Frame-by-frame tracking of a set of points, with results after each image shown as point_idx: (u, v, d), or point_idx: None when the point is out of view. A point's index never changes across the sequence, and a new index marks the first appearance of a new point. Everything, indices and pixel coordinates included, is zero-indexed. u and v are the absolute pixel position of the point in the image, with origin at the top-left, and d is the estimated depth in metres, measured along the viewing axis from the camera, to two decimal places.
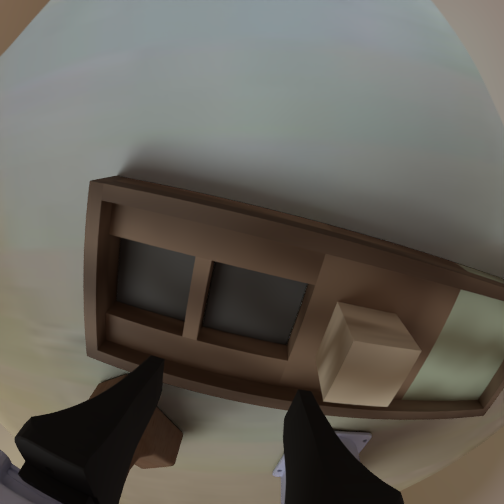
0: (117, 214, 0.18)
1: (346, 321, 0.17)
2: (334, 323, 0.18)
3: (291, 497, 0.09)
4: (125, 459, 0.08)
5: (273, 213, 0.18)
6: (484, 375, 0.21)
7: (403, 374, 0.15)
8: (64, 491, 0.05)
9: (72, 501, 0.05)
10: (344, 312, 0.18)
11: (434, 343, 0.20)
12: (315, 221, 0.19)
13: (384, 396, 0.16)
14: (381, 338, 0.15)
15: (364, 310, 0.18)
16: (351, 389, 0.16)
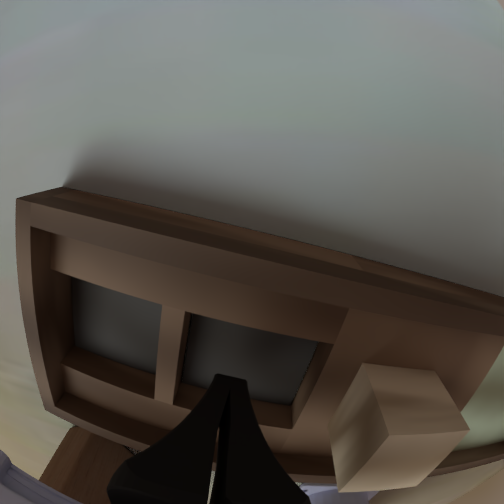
0: (57, 242, 0.12)
1: (376, 399, 0.10)
2: (357, 392, 0.12)
3: (214, 487, 0.08)
4: None
5: (275, 242, 0.12)
6: None
7: (443, 455, 0.09)
8: None
9: None
10: (373, 382, 0.12)
11: (471, 395, 0.14)
12: (336, 251, 0.13)
13: (414, 478, 0.10)
14: (422, 421, 0.09)
15: (398, 372, 0.12)
16: (375, 479, 0.10)
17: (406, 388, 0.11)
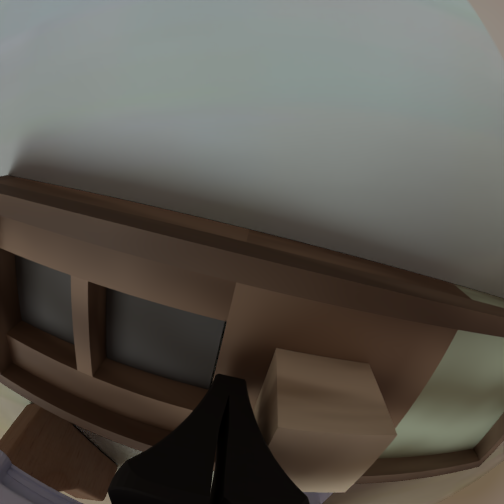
0: None
1: (277, 387, 0.10)
2: (269, 380, 0.12)
3: (213, 487, 0.08)
4: None
5: (162, 215, 0.12)
6: (484, 423, 0.15)
7: (367, 461, 0.09)
8: None
9: None
10: (281, 368, 0.11)
11: (417, 395, 0.14)
12: (231, 225, 0.13)
13: (338, 483, 0.10)
14: (330, 418, 0.09)
15: (317, 362, 0.12)
16: None
17: (322, 379, 0.11)
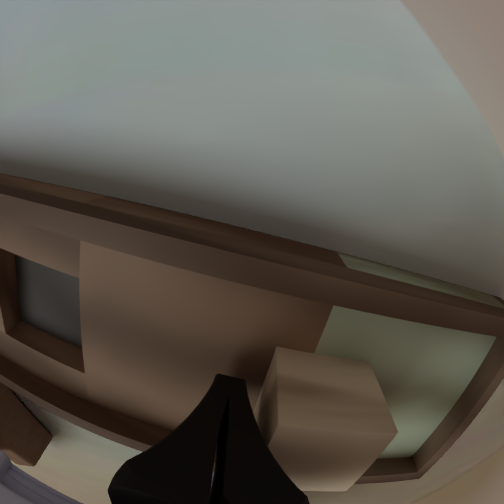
0: None
1: (277, 385, 0.10)
2: (269, 378, 0.12)
3: (212, 487, 0.08)
4: None
5: (38, 187, 0.12)
6: (417, 429, 0.14)
7: (368, 460, 0.09)
8: None
9: None
10: (281, 366, 0.11)
11: None
12: (90, 193, 0.13)
13: (340, 482, 0.10)
14: (331, 416, 0.09)
15: (317, 360, 0.12)
16: None
17: (322, 377, 0.11)
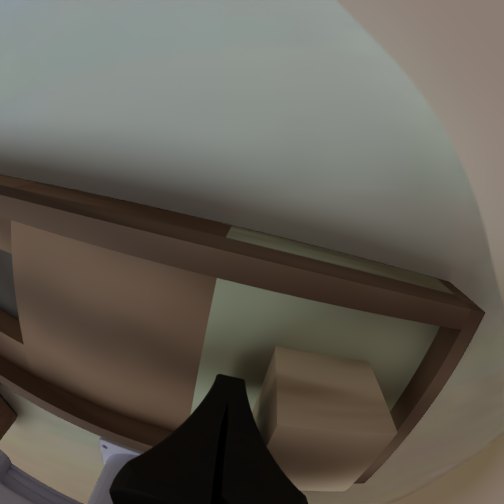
0: None
1: (277, 385, 0.10)
2: (268, 378, 0.12)
3: None
4: None
5: None
6: None
7: (368, 460, 0.09)
8: None
9: None
10: (280, 366, 0.11)
11: (200, 362, 0.13)
12: (25, 180, 0.13)
13: (339, 482, 0.10)
14: (330, 416, 0.09)
15: (317, 359, 0.12)
16: None
17: (322, 377, 0.11)
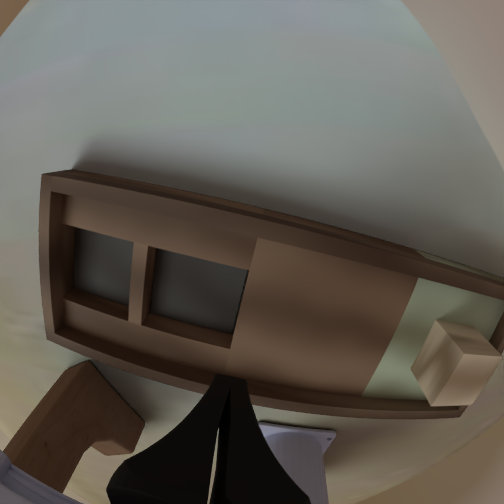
0: (67, 204, 0.18)
1: (451, 337, 0.17)
2: (434, 338, 0.19)
3: (214, 487, 0.08)
4: None
5: (205, 198, 0.18)
6: None
7: (488, 376, 0.15)
8: None
9: None
10: (445, 329, 0.18)
11: (392, 336, 0.20)
12: (251, 206, 0.19)
13: (472, 396, 0.16)
14: (477, 349, 0.15)
15: (455, 325, 0.19)
16: (452, 393, 0.16)
17: (462, 333, 0.18)
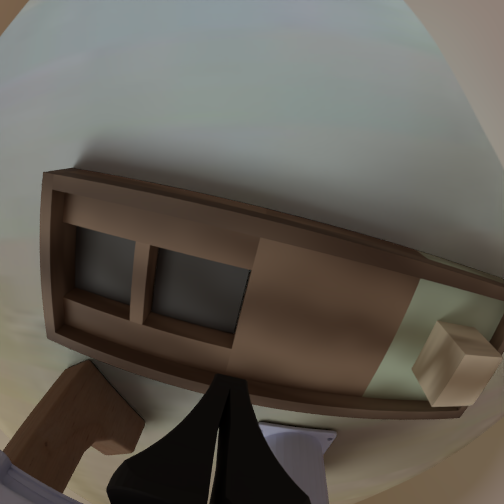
0: (69, 203, 0.18)
1: (452, 338, 0.17)
2: (435, 339, 0.18)
3: (214, 487, 0.08)
4: None
5: (208, 197, 0.18)
6: None
7: (488, 377, 0.15)
8: None
9: None
10: (446, 330, 0.18)
11: (393, 337, 0.20)
12: None
13: (472, 397, 0.16)
14: (478, 350, 0.15)
15: (456, 326, 0.19)
16: (453, 393, 0.16)
17: (463, 334, 0.18)
